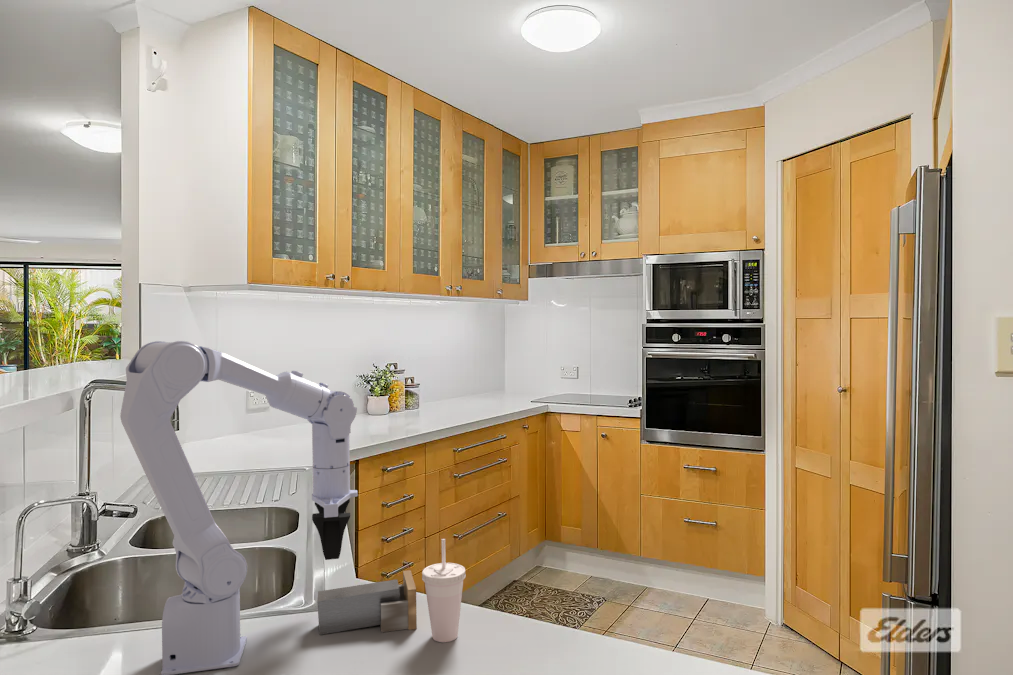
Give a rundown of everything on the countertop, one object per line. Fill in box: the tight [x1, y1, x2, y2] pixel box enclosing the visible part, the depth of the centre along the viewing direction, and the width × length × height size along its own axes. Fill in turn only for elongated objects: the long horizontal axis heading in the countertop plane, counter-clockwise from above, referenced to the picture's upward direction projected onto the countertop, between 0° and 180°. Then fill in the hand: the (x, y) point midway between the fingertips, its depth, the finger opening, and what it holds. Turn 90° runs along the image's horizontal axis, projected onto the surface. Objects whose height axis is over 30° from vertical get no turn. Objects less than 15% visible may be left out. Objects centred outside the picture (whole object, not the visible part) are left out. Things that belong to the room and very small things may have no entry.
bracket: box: [380, 569, 418, 633], centre depth 98 cm, size 5×8×6 cm, turn 15°
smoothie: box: [421, 538, 467, 643], centre depth 92 cm, size 6×6×14 cm
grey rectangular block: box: [316, 578, 400, 636], centre depth 97 cm, size 12×4×5 cm, turn 105°
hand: (332, 550), depth 101 cm, fingers open, 7 cm apart
